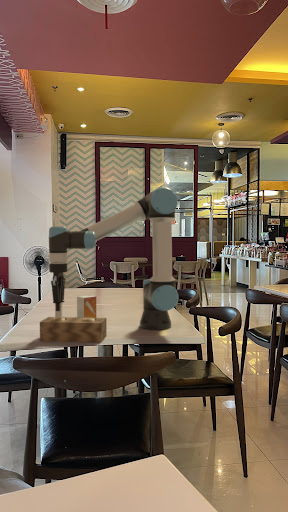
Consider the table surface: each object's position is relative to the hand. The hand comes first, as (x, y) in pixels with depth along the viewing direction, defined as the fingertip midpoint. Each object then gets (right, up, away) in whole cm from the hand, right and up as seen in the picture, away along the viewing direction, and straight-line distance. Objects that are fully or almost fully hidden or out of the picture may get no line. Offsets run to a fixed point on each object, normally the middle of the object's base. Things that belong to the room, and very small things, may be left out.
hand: (58, 318), depth 172 cm
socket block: (+6, -9, 0) cm, 11 cm away
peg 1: (0, -8, 0) cm, 8 cm away
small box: (+7, -7, +35) cm, 37 cm away
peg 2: (+13, -8, -1) cm, 15 cm away
